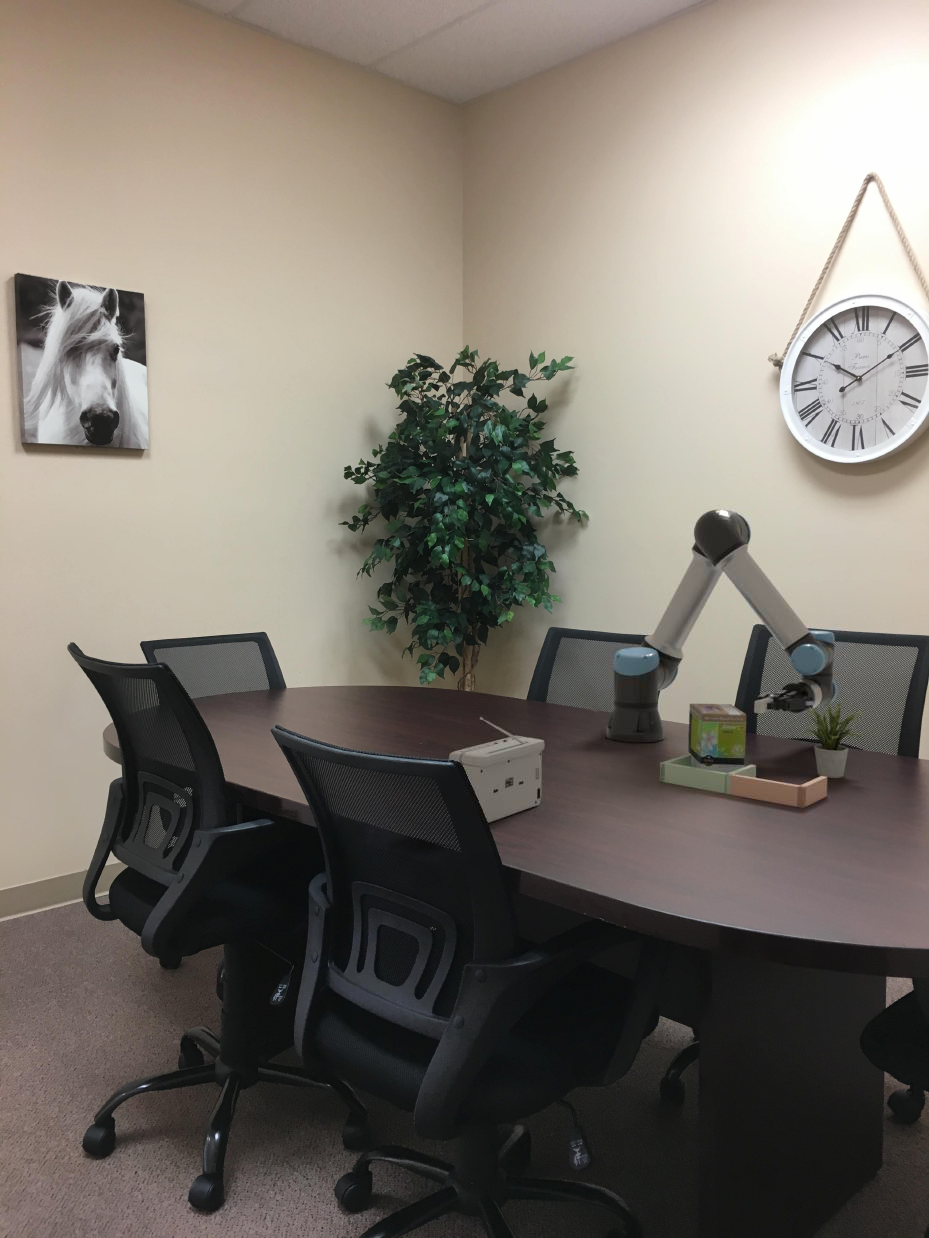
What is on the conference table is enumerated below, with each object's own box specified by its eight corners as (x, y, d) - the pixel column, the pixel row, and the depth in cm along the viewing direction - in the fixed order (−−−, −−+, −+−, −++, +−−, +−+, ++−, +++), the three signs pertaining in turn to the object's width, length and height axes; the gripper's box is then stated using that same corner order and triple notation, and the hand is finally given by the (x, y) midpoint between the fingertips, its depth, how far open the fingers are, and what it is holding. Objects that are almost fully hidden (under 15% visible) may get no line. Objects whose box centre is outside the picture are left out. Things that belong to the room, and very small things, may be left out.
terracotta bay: (730, 794, 194) (730, 775, 194) (755, 783, 202) (756, 765, 202) (803, 807, 184) (803, 787, 183) (826, 796, 192) (827, 776, 192)
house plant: (874, 785, 201) (877, 709, 200) (806, 782, 204) (808, 707, 202) (860, 770, 215) (863, 699, 214) (796, 767, 218) (798, 697, 216)
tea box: (745, 781, 205) (747, 713, 204) (698, 780, 206) (700, 713, 205) (730, 765, 220) (732, 702, 219) (686, 764, 221) (687, 701, 220)
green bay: (659, 781, 205) (659, 762, 205) (686, 771, 214) (687, 754, 213) (730, 794, 194) (730, 775, 194) (755, 783, 202) (756, 765, 202)
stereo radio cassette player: (513, 798, 191) (513, 700, 189) (547, 805, 186) (548, 704, 184) (446, 821, 175) (445, 714, 173) (481, 830, 170) (481, 719, 168)
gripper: (825, 715, 232) (783, 727, 214) (774, 707, 240) (730, 719, 223) (827, 684, 231) (785, 694, 214) (775, 678, 240) (732, 687, 222)
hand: (757, 707), depth 218 cm, fingers closed
